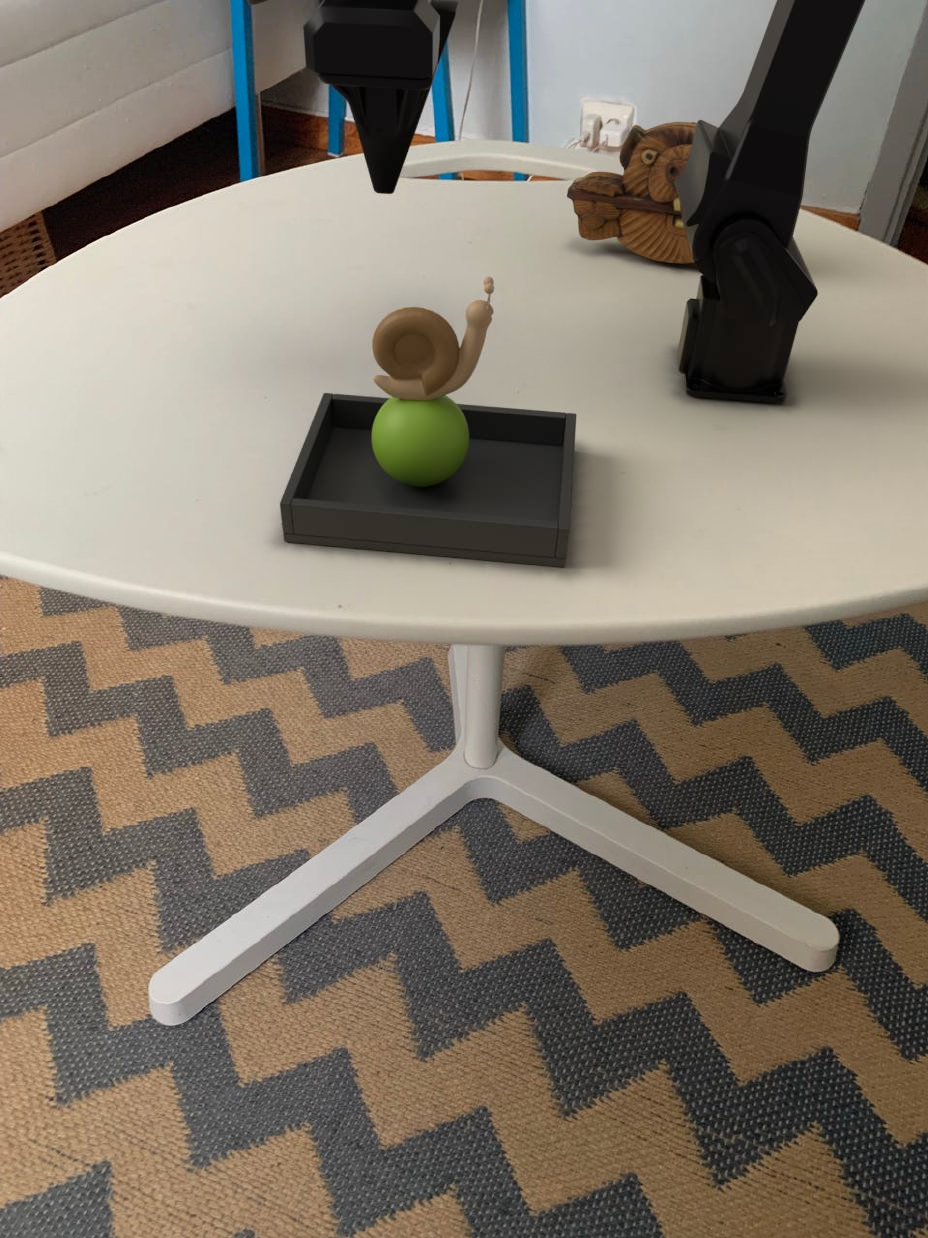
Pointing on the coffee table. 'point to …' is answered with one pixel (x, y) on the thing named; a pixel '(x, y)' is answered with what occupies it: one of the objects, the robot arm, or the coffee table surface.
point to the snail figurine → (425, 390)
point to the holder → (437, 488)
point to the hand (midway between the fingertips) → (394, 162)
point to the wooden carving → (640, 195)
